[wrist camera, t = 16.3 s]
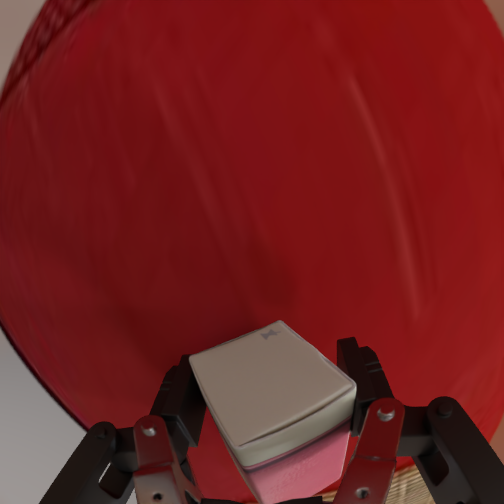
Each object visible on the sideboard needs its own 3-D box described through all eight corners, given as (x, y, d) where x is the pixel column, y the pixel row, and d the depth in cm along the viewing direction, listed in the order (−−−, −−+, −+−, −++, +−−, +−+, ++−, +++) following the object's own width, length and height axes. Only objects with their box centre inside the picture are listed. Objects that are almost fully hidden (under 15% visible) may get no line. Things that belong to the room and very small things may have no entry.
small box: (228, 452, 13) (183, 353, 10) (294, 421, 14) (279, 315, 12) (268, 519, 9) (230, 452, 6) (344, 477, 10) (361, 381, 7)
